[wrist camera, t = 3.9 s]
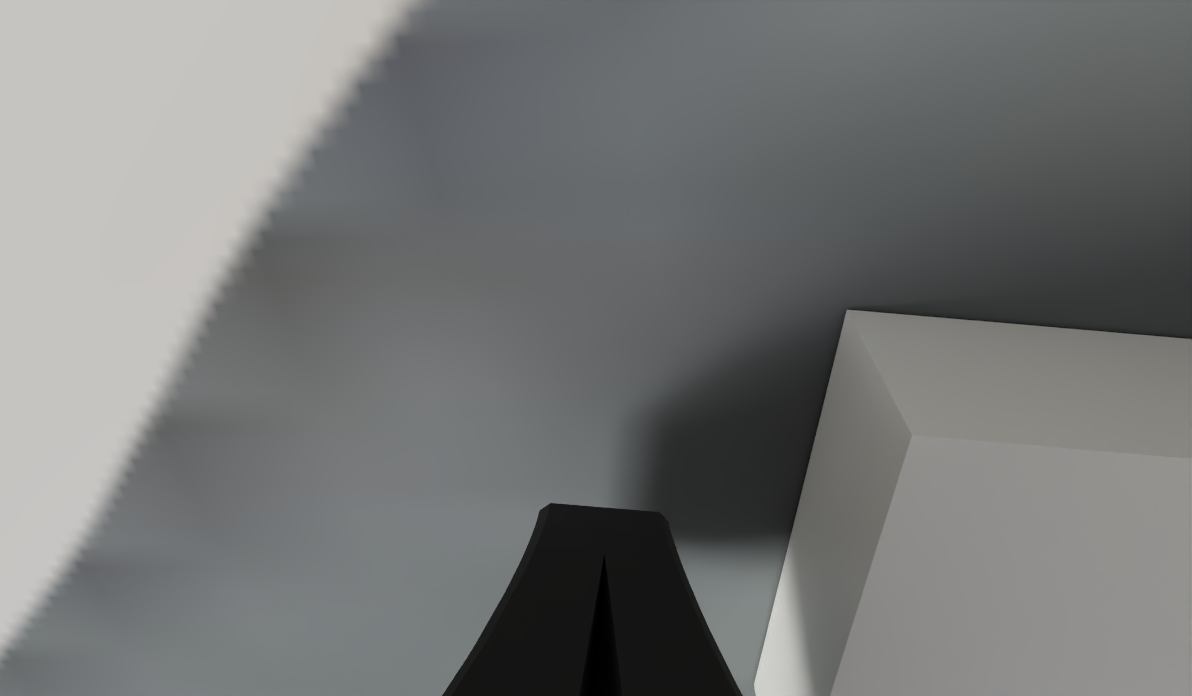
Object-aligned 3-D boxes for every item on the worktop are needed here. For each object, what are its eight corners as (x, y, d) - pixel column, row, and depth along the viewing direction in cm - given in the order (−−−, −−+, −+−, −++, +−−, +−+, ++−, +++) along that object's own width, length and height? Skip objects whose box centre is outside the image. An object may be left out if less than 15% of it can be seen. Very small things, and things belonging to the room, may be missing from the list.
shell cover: (1168, 718, 12) (1281, 892, 10) (754, 683, 12) (781, 853, 10) (1390, 355, 9) (1616, 494, 7) (846, 309, 9) (912, 434, 7)
